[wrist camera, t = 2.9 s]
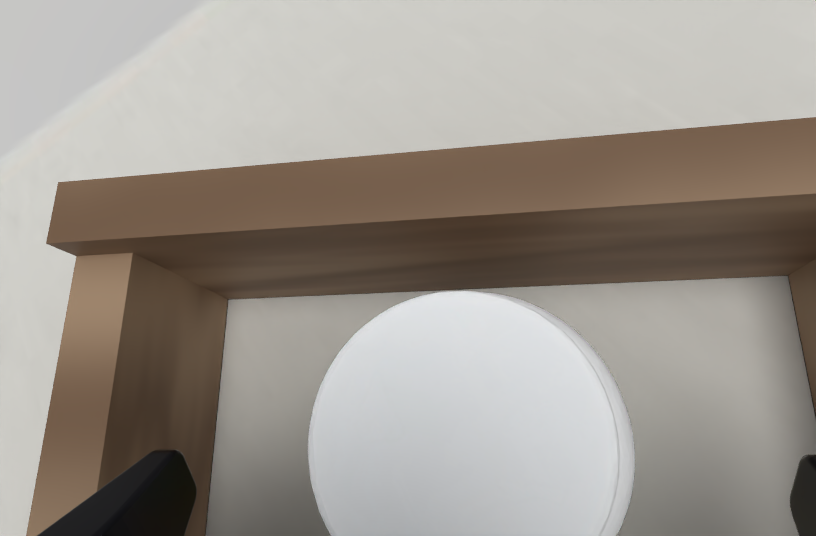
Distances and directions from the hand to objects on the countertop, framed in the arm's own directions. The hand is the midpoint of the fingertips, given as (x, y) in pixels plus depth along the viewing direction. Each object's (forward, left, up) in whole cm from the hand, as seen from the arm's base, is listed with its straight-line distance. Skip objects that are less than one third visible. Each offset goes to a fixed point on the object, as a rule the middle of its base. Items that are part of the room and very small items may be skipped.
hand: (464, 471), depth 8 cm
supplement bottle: (0, 0, -8) cm, 8 cm away
